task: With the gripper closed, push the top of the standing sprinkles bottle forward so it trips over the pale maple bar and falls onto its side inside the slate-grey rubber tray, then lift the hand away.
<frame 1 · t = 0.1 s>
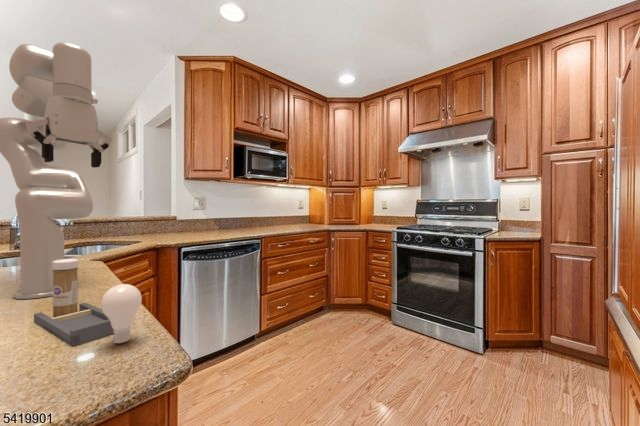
hand: (73, 164, 74), 36 cm above the countertop, tool pointing down, fingers open, 9 cm apart
tray: (79, 325, 63), on the countertop
lightbulb: (122, 344, 54), on the countertop
sprinkles bottle: (65, 318, 67), on the countertop
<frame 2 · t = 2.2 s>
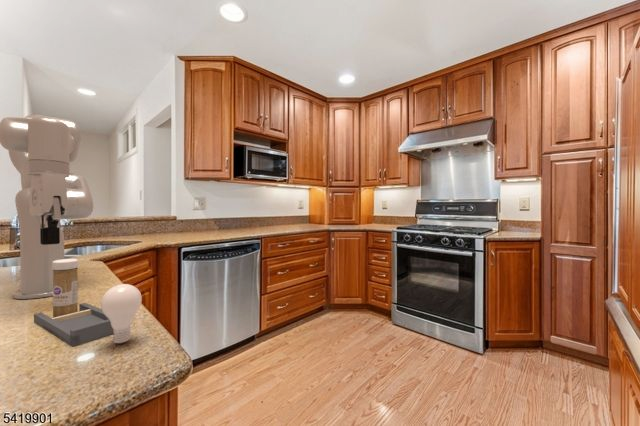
hand: (50, 244, 72), 17 cm above the countertop, tool pointing down, fingers closed
nothing on the countertop moved.
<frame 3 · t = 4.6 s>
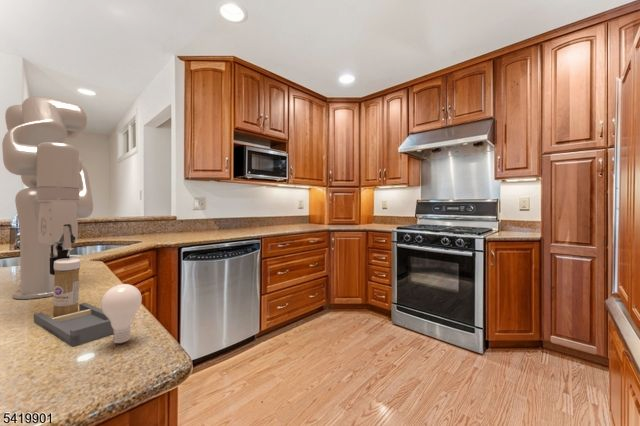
hand: (59, 273, 69), 10 cm above the countertop, tool pointing down, fingers closed
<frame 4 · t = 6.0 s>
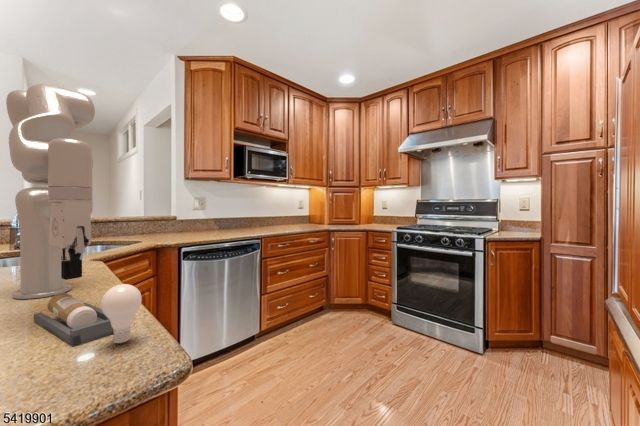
hand: (71, 277, 65), 10 cm above the countertop, tool pointing down, fingers closed
sprinkles bottle: (60, 302, 66), point 4 cm above the countertop, touching tray
everything else where it was.
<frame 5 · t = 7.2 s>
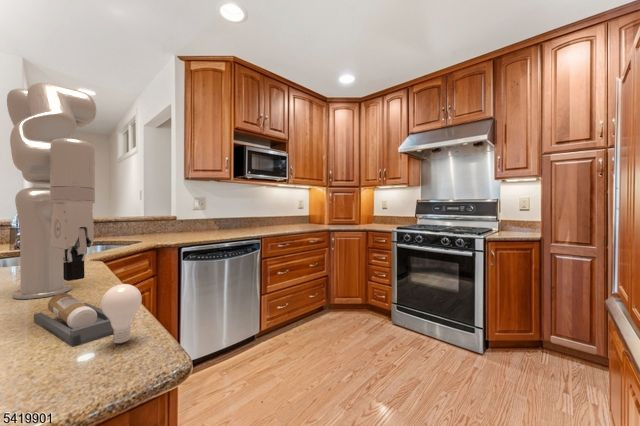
hand: (74, 279, 64), 10 cm above the countertop, tool pointing down, fingers closed
nothing on the countertop moved.
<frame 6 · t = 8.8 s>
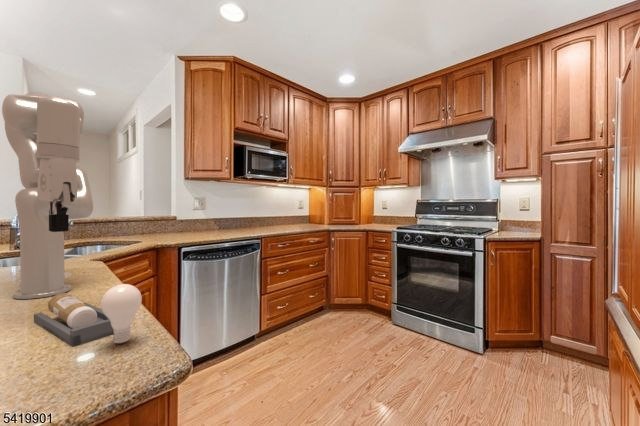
hand: (58, 231, 69), 20 cm above the countertop, tool pointing down, fingers closed
nothing on the countertop moved.
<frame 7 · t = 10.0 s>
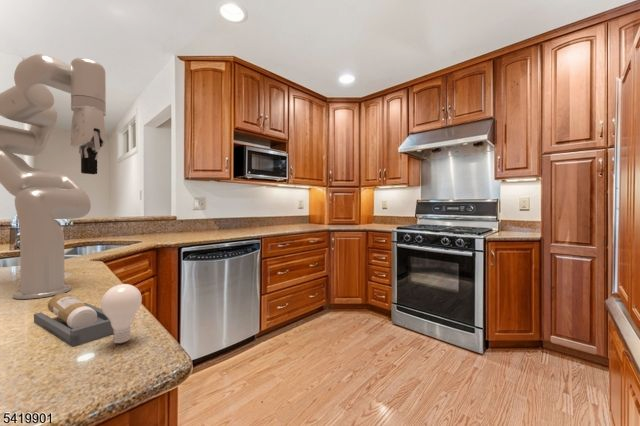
hand: (89, 173, 81), 35 cm above the countertop, tool pointing down, fingers closed
nothing on the countertop moved.
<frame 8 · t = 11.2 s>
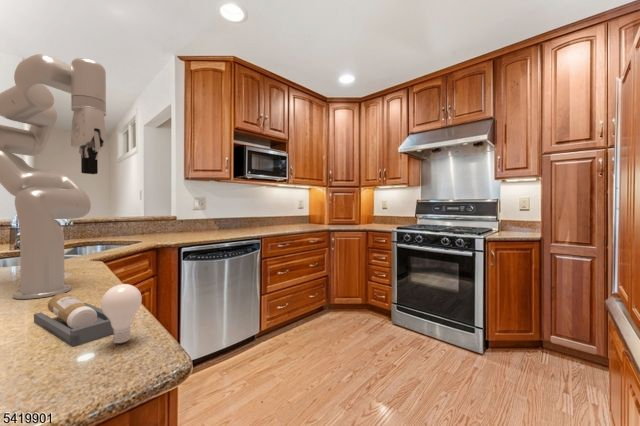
hand: (89, 173, 81), 35 cm above the countertop, tool pointing down, fingers closed
nothing on the countertop moved.
at the end: sprinkles bottle tilted 95°; sprinkles bottle inside the target area (7.5 cm from its centre), point 4.0 cm above the countertop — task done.
